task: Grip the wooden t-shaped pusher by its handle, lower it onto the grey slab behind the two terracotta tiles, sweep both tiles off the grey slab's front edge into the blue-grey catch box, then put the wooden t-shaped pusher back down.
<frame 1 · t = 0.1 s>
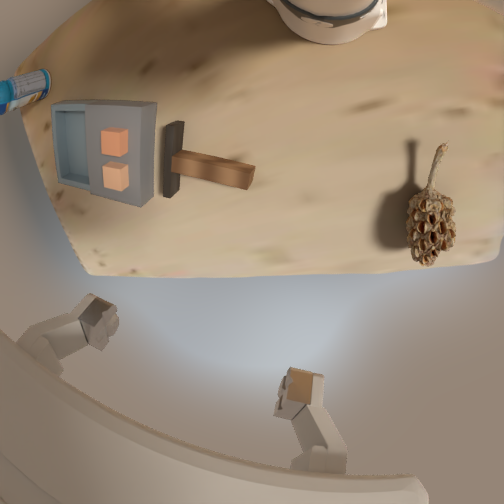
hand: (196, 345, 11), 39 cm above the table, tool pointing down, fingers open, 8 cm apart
wooden t-shaped pusher: (216, 164, 48), on the table
tile b: (119, 173, 47), point 5 cm above the table, touching grey slab
pine cone: (424, 192, 41), on the table
grey slab: (126, 147, 49), on the table
tile a: (118, 139, 43), point 5 cm above the table, touching grey slab
beverage bottle: (43, 83, 42), on the table
catch box: (82, 141, 50), on the table
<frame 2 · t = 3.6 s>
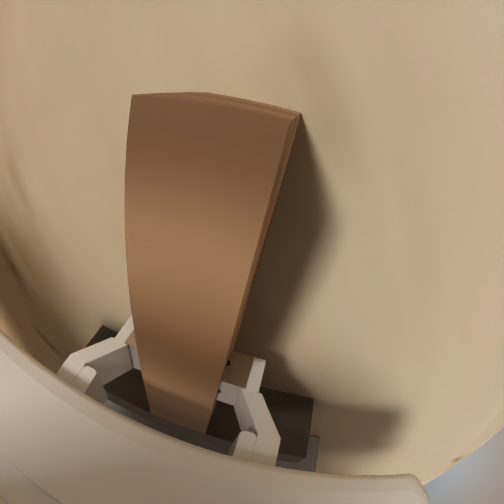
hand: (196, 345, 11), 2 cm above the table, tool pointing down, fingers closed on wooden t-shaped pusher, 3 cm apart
wooden t-shaped pusher: (215, 279, 11), on the table, touching gripper
grey slab: (193, 431, 22), on the table
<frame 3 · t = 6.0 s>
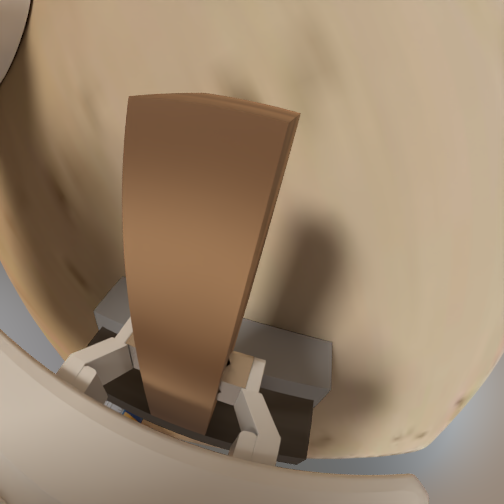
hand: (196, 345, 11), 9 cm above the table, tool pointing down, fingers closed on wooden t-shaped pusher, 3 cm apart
wooden t-shaped pusher: (215, 280, 11), point 8 cm above the table, touching gripper
grey slab: (213, 355, 27), on the table
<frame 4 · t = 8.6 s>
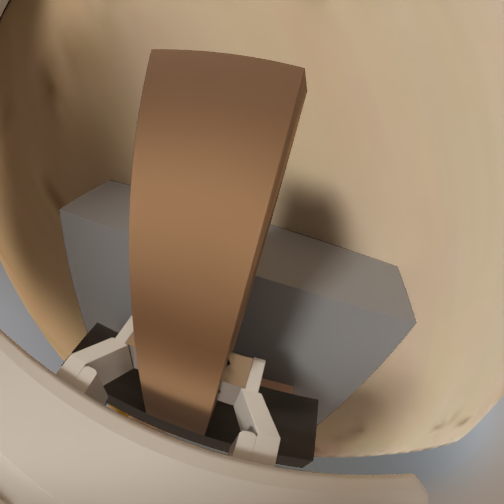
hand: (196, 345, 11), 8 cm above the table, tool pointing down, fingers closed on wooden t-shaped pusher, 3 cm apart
wooden t-shaped pusher: (218, 264, 11), point 6 cm above the table, touching gripper, tile a, tile b
grey slab: (226, 301, 20), on the table
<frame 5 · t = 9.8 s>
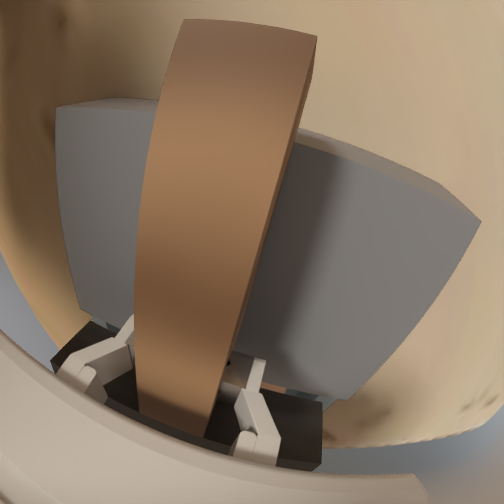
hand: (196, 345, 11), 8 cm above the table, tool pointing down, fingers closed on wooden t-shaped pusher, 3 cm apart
wooden t-shaped pusher: (222, 249, 11), point 6 cm above the table, tilted 10°, touching gripper
grey slab: (242, 233, 17), on the table
catch box: (215, 357, 24), on the table
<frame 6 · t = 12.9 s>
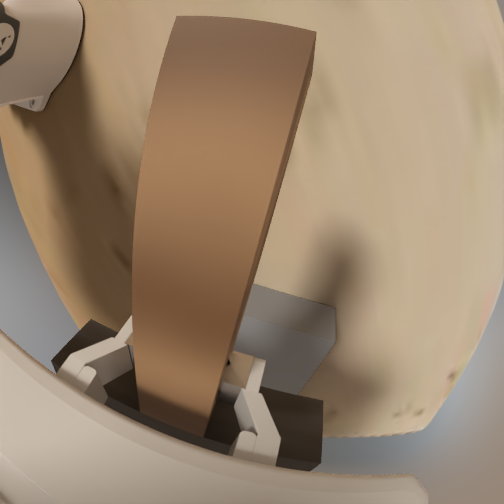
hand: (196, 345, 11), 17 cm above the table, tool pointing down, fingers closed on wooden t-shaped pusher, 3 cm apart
wooden t-shaped pusher: (221, 249, 11), point 15 cm above the table, tilted 8°, touching gripper
grey slab: (238, 324, 34), on the table
when the fingers open (3 cm above the table, at t = 15.6 s): wooden t-shaped pusher drops 1 cm, on the table.
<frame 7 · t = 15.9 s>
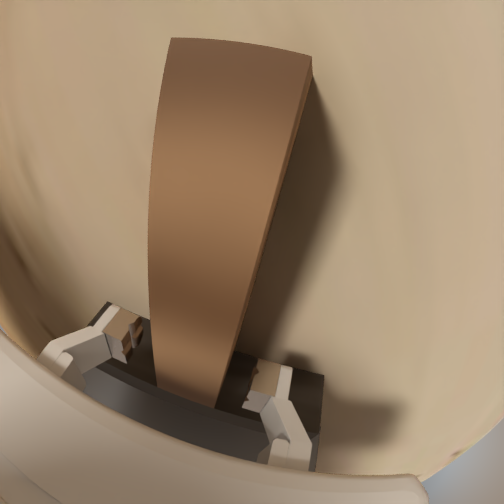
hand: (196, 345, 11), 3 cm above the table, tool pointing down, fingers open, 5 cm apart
wooden t-shaped pusher: (229, 239, 11), on the table
grey slab: (196, 423, 23), on the table
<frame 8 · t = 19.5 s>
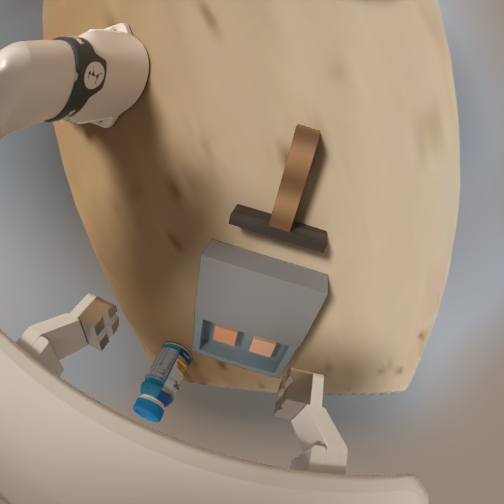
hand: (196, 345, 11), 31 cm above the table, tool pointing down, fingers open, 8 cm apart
wooden t-shaped pusher: (295, 174, 38), on the table
tile b: (261, 348, 53), point 3 cm above the table, tilted 180°, touching catch box
grey slab: (260, 288, 49), on the table
tile a: (224, 336, 53), point 3 cm above the table, tilted 180°, touching catch box
beverage bottle: (177, 351, 66), on the table
catch box: (245, 335, 57), on the table
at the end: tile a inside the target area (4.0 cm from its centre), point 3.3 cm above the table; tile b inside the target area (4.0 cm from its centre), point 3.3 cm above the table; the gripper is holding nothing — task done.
